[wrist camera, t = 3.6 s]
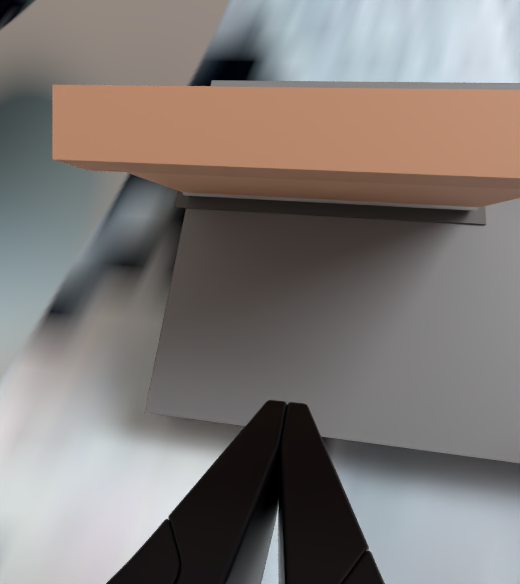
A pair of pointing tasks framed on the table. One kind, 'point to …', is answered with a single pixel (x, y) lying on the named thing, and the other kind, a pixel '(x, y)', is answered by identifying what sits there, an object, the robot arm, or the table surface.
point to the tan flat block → (300, 142)
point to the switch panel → (348, 315)
